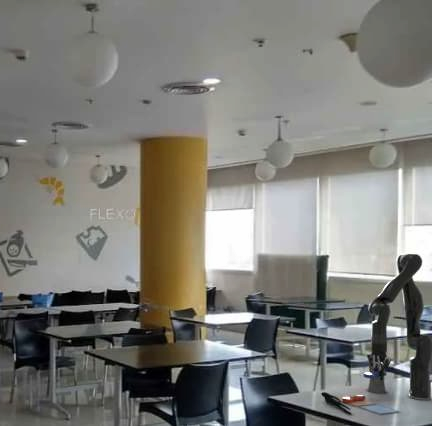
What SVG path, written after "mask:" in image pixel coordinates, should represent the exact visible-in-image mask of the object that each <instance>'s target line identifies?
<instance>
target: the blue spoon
mask: <svg viewBox="0 0 432 426" xmlns="http://www.w3.org/2000/svg"><path fill="white" fill-rule="evenodd" d="M387 374H388V373H387V371H386V370H385V371H384V377H386V376H387ZM375 377H379V371H376V372H372V373H370V372H363V378H366V379H370V378H375Z"/></svg>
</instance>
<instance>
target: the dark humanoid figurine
mask: <svg viewBox="0 0 432 426" xmlns="http://www.w3.org/2000/svg"><path fill="white" fill-rule="evenodd" d="M320 396H322V397H323V398H324V401H325V403H327V404H330V405H332V406H334V407H336V408H337V409H339V410H341V411H343V412H344V413H346V414H349V415H352V413H351V412H350V411H351V410H352V409H351V408H350V407H349V406H347V405H346V404H344V403H343V402H342V401H340V399H339V398H340V397H337V396H335V395H333V394H330V393H328V392H326V391H323V392H321V395H320ZM336 399H337V400H336Z"/></svg>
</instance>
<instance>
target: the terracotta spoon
mask: <svg viewBox="0 0 432 426" xmlns="http://www.w3.org/2000/svg"><path fill="white" fill-rule="evenodd" d="M341 398H342V401H341V403H346V404H348V403H353V401H363V400H364V401H366V396H365V395H364V394H362V395H361V394H359V395H350V396H342V397H341Z"/></svg>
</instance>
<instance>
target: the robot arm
mask: <svg viewBox="0 0 432 426" xmlns="http://www.w3.org/2000/svg"><path fill="white" fill-rule="evenodd" d="M422 265H423V259H422V256H421V255H419V254H417V253H400V254H399V255H398V256H397V258H396V267H397V271H398V274H397V275H396V276H395V277H394V278H392V279H391V280H390V281H388V282H387V284H386V285H384V288H383V289H382V291H381V293H380V294H379V295H377V296H376V297H375V298H374V299H373V300H372V301H371V302H370V303H369V306H368V313H369V315H371V316H373V317H377V318H376V320H374V321H372V322H371V333H370V334H371V335H370V351H371V353H369V354H367V355H366V357H367V361H368V363H370V366H372V367H373V368H374V372H376V371H378V365H379V369H380V370H379V377H383V376H384V369H385V370H388V369H389V367H390V364H391V362H392V359H391V358H389V357H388V356H387V352H388V335H387V333H388V332H387V331H388V328H387V327H388V323H389V320H390V316H391V308H390V305H389V304H392V303H393V302H395V300H396V298H397V297H398V296H399V294H400V292H401V291H402V299H403V307H404V314H405V322H406V342H407V345H408V347H409V349H411V350H413V351H415V355H414V356H413V357H411V358H410V359H409V389H408V393H409V394H408V395H409V398H410V399H411V398H412V399H415V400H419V401H430V400H431V398H432V381H431V362H432V338H431V336H429V335H427V334H424V333H422V332H421V325H420V323H421V319H422V316H423V313H424V310H425V309H424V308H425V305H424V298H423V294H422V292H421V290H420V289H419V287H418V286H417V284H416V283H415V281H414V278H413V277H414V276H415V275H416V274H417V273H418V271H420V269H421V268H422ZM384 377H385V376H384Z"/></svg>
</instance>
